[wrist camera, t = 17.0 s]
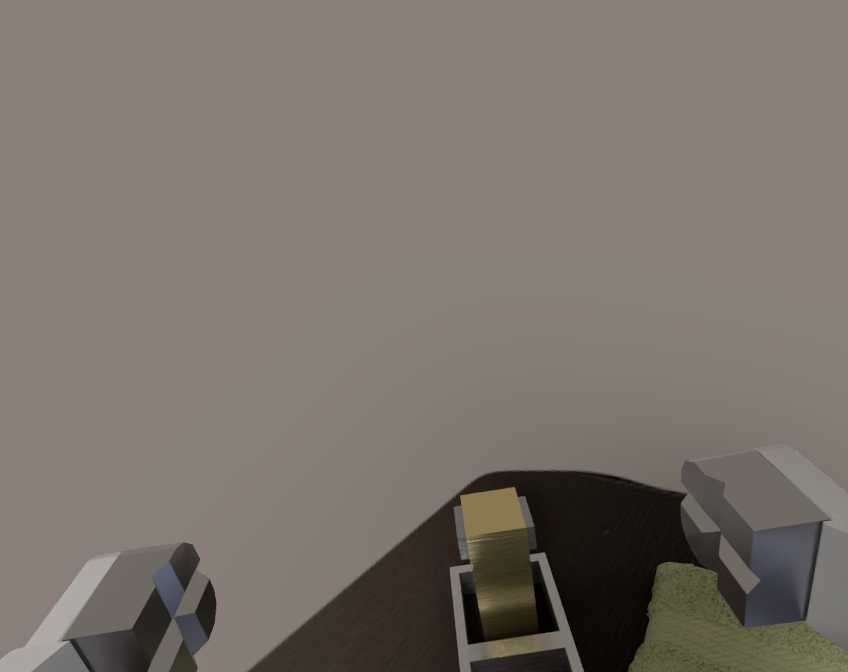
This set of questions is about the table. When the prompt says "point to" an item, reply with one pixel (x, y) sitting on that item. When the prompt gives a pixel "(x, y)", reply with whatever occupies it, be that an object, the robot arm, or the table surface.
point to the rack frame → (523, 656)
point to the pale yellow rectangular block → (500, 560)
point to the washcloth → (722, 633)
